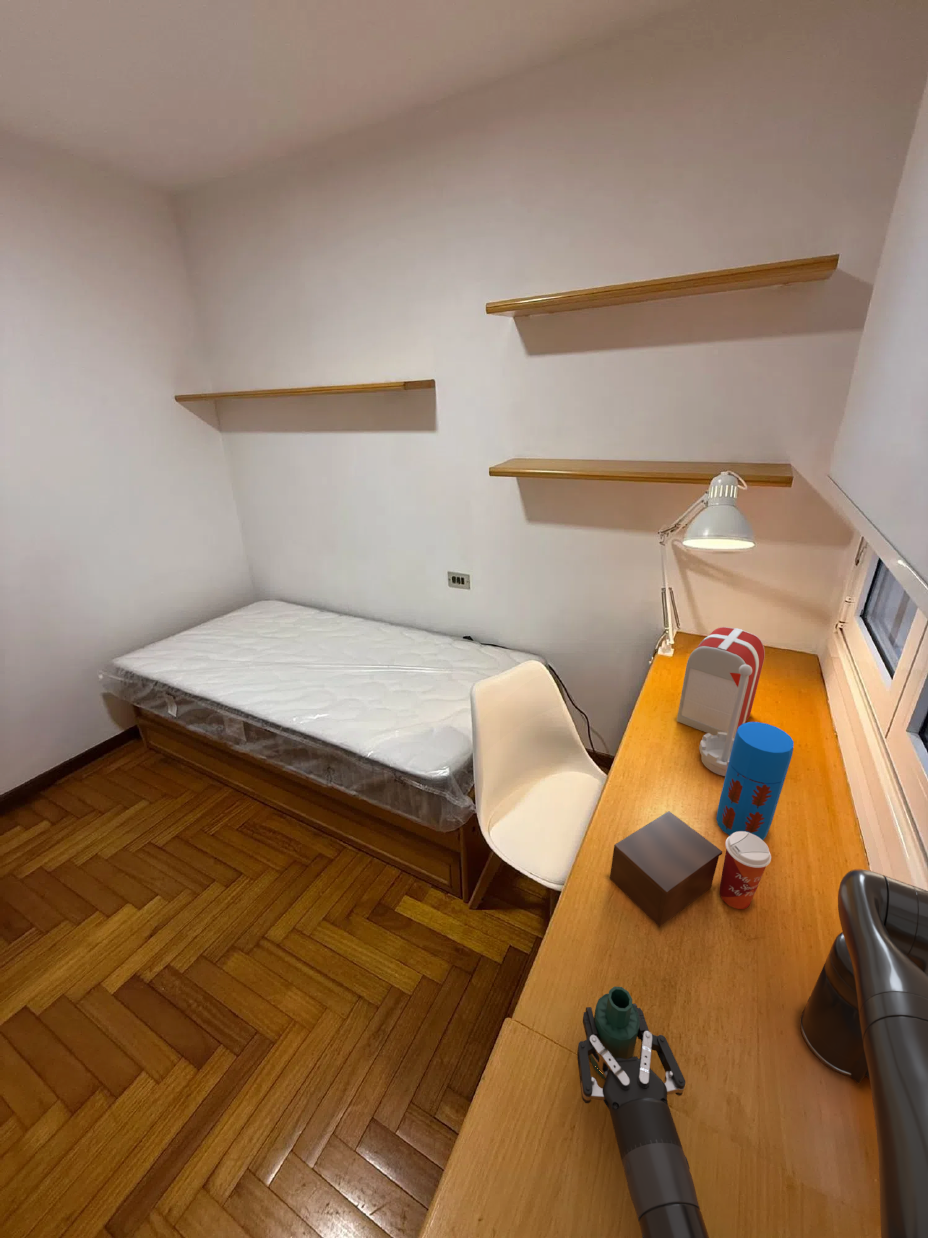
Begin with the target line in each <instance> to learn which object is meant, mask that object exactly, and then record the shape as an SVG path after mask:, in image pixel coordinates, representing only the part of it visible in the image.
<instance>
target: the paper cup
mask: <svg viewBox="0 0 928 1238" xmlns="http://www.w3.org/2000/svg"><path fill="white" fill-rule="evenodd" d="M771 861H772V854H771V852H770V848H769V846H768V844H767V843H766V842H765V841H764V840H762V839H760V838H759V837H757V836H756V835H754V834H751V833H749V832H744V831H738V832H735V833H733V834H732V835H731V836H729V835H728V837H727V838H726V839H725V854H724V859H723V865H722V869H721V870H722V871H721V877H720V882H719V891H718V892H719V895H720V898H721V900H722V901H723V902H724V903H725V904H726V905H728V906H729V907H731V908H733V909H737V910H745V909H747V908H748V907H750V905H751V904H752V901H753V899H754V896H755V895H756V893H757V890H758V887H759V884H760V882H761V880H762V878H763V876H764V873H765V870H766V868H767V866H768V865H769V864H770V863H771Z"/></svg>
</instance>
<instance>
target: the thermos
mask: <svg viewBox="0 0 928 1238" xmlns="http://www.w3.org/2000/svg"><path fill="white" fill-rule="evenodd" d="M794 742H795V741H794V740H793V738H792V737H791V736H790V734H788V733H787V732H786V731H784V730H783V729H781V728H780V727H777V726H775V725H772V724H769V723H767V722H759V721H748V722H747V721H746V723H743V724H742V725H740V726H739V727H738V729H737V732H736V735H735V739H734V743H733V747H732V751H731V755H730V759H729V764H728V768H727V772H726V776H724V781H723V784H722V789H721V792H720V797H719V800H718V805H717V812H716V816H715V817H716V818H715V819H716V823H717V826H718V827H719V828H720V829H721V831H722V832H723V833H725V834H726V835H727V836H728V837H729V836H731V835H732V834H733V833H735V832H738V831H744V832H749V833H751V834H754V835H756V836H757V837H759V838H760V839H762V840H763V841H764V840H765V839H766V838H767V836H768V834H769V831H770V828H771V826H772V823H773V819H774V817H775V813H776V811H777V806H778V803H779V800H780V797H781V793H782V790H783V787H784V784H785V780H786V777H787V774H788V771H789V767H790V764H791V760H792V758H793V753H794V745H795V743H794Z"/></svg>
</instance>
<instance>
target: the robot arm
mask: <svg viewBox="0 0 928 1238" xmlns="http://www.w3.org/2000/svg"><path fill="white" fill-rule="evenodd" d="M837 910H838V918H839V923H840V927H841V932H840V933H839V934H837V936H836V937H835V938H834V941H833V943H832V944H831V947H830V950H829V952H828V955H827V957H826V959H825V961H824V964H823V966H822V969H821V971H820V973H819V975H818V978H817V980H816V982H815V985H814V987H813V989H812V992H811V993H810V996H809V997H808V999H807V1003H806V1005H805V1007H804V1009H803V1011H802V1013H801V1015H800V1019H799V1027H800V1032H801V1035H802V1037H803V1040H804V1041H805V1043H806V1045H807V1047H808V1048H809V1049H810V1050H811V1052H812V1053H813V1054H814V1055H815V1057H817V1058H818V1060H820V1061H821V1063H823V1064H824V1065H825V1066H827V1067H828V1068H830V1069H831V1070H833V1071H835V1073H838V1074H841V1075H843V1076H846V1077H850V1078H851V1080H853V1081H854V1082H856V1083H857V1084H861V1082H862V1081H863V1080H864V1078H865V1077H867V1078H868V1079H869V1082H870V1083H869V1084H870V1091H871V1099H872V1107H873V1115H874V1124H875V1130H876V1140H877V1141H876V1142H877V1157H878V1182H879V1183H878V1184H879V1187H878V1188H879V1212H880V1213H879V1214H880V1216H879V1217H880V1237H881V1238H928V890H926V889H923V888H921V887H918V886H915V885H913V884H910V883H907V882H905V881H901V880H898V879H896V878H893V877H890V876H887V875H886V874H885V875H884V874H882V873H878V872H877V871H874V870H873V871H872V870H869V869H862V868H854V869H851V870H849V871H847V872H846V873H845V874H844V876H843V877H842V879H841V881H840V883H839V887H838V891H837ZM633 1005H634V1007H635V1009H636V1010H637V1012H638V1016H639V1021H640V1025H639V1030H638V1035H637V1040H640V1042H641V1043H640V1051H639V1052H640V1053H639V1057H638V1056H633V1057H630V1058H628V1059H624V1058H615V1059H614V1058H613V1056H612V1055H611V1053H610V1052H609V1051H608V1050H607V1049H605V1047H604V1046H603V1045H602V1043H601V1042H600V1040H599V1039H598V1038H597V1037H598V1032H597V1028H596V1024H595V1020H594V1011H593V1008H592V1007H591V1006H586V1007H585V1011H584V1012H583V1015H582V1025H583V1029H584V1033H585V1038H586V1039H585V1040H581V1041H580V1040H579V1042H578V1043H577V1051H576V1052H577V1053H576V1059H577V1068H578V1074H579V1075H578V1076H579V1084H580V1093H581V1099H582V1101H583V1103H584V1104H586V1105H587V1104H590V1103H591V1102H592V1100H594V1101H603V1103H604V1104H605V1106H606V1107H607V1109H608V1112H609V1115H610V1119H611V1123H612V1127H613V1130H614V1135H615V1140H616V1144H617V1147H618V1151H619V1156H620V1160H621V1164H622V1167H623V1168H622V1169H623V1173H624V1176H625V1181H626V1185H627V1189H628V1192H629V1197H630V1199H631V1202H632V1206H633V1207H634V1211H635V1214H636V1216H637V1221H638V1223H639V1229H640V1233H641V1237H642V1238H710V1236H709V1233H708V1230H707V1226H706V1223H705V1220H704V1217H703V1214H702V1211H701V1208H700V1207H701V1206H700V1204H699V1201H698V1195H697V1192H696V1191H697V1190H696V1187H695V1183H694V1179H693V1177H692V1173H691V1170H690V1169H691V1168H690V1165H689V1161H688V1158H687V1156H686V1154H685V1152H684V1148H683V1146H682V1142H681V1139H680V1136H679V1134H678V1130H677V1127H676V1123H675V1120H674V1118H673V1115H672V1112H671V1108H670V1105H669V1103H668V1096H669V1095H673V1094H675V1095H676V1096H678V1097H681V1096H682V1095H683V1093H684V1092H685V1091H684V1090H685V1089H686V1088H685V1087H686V1082H687V1081H686V1079H685V1076H684V1075H683V1073H682V1070H681V1068H680V1066H679V1064H678V1061H677V1059H676V1057H675V1054H674V1052H673V1051H672V1048H671V1046H670V1044H669V1042H668V1040H667V1037H666V1036H665V1035H663V1034H659V1035H656V1034H653V1033H652V1032H651V1031H650V1029H649V1026H648V1024H647V1021H646V1017H645V1014H644V1011H643V1010H642V1009H641V1007H638V1005H637V1003H633ZM652 1051H655V1052H656V1054H657V1056H658V1058H659V1061H660V1064H661V1065H662V1068H663V1070H664V1072H665V1075H664V1081H663V1080H662V1079H661V1077H660V1076H658V1075H657V1073H655V1071H654V1070H652V1068H651V1060H652ZM590 1055H592V1056H593V1058H594V1059H595V1061H596V1062H597V1064H598V1067H599V1069H600V1070H601V1072H602V1073H603V1075H604V1076H605V1078H606V1079H604V1083H603V1086H602V1087H600V1086H599V1084H598V1081H597V1079H596V1078H595V1077H594V1076H592V1075H591V1074H592V1073H591V1065H590Z"/></svg>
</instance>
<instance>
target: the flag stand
mask: <svg viewBox="0 0 928 1238" xmlns="http://www.w3.org/2000/svg"><path fill="white" fill-rule="evenodd" d="M739 673H740V674H739ZM739 673H730V674H731V676H732V678H733V680H734V682H735V683H736V685H737V687H738V689H737V694H736V698H735V702H734V707H733V711H732V715H731V719H730V724H729V728H728V732H727V733H725V732H717V735H712V734H710V733H705V734H703V735H702V738H701V740H700V742H699V747H698V750H699V753H700V755H701V762H702V764H703V765H704V767H706V768H707V769H708V770H709V771H711V772H713V773H714V774H715V775H719V776H722V777H725V776H726V772H727V768H728V764H729V759H730V755H731V751H732V747H733V743H734V738H733V736H734V731H735V727H736V723H737V719H738V715H739V711H740V706H741V702H742V698H743V694H744V690H745V686H746V682H747V677H748V676H749V675H751V674H752V668H751V667H750V666H749V665H746V664H744V665H742V666H740V668H739Z"/></svg>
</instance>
